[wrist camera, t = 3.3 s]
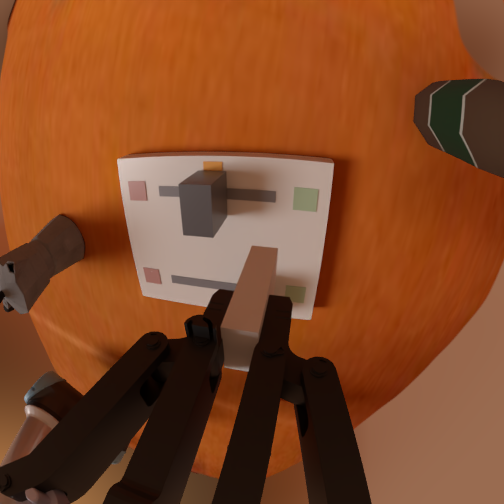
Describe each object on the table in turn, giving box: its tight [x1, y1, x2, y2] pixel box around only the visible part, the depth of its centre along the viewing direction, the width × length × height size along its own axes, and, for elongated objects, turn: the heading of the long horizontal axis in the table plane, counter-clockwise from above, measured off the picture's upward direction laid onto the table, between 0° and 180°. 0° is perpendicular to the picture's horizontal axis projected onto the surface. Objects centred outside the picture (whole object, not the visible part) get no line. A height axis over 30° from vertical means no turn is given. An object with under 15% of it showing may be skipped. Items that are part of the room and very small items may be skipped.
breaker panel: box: [117, 152, 334, 320], centre depth 33 cm, size 24×20×3 cm
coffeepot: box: [0, 214, 85, 314], centre depth 33 cm, size 15×9×18 cm, turn 134°
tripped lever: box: [178, 170, 227, 238], centre depth 27 cm, size 3×5×5 cm, turn 179°
